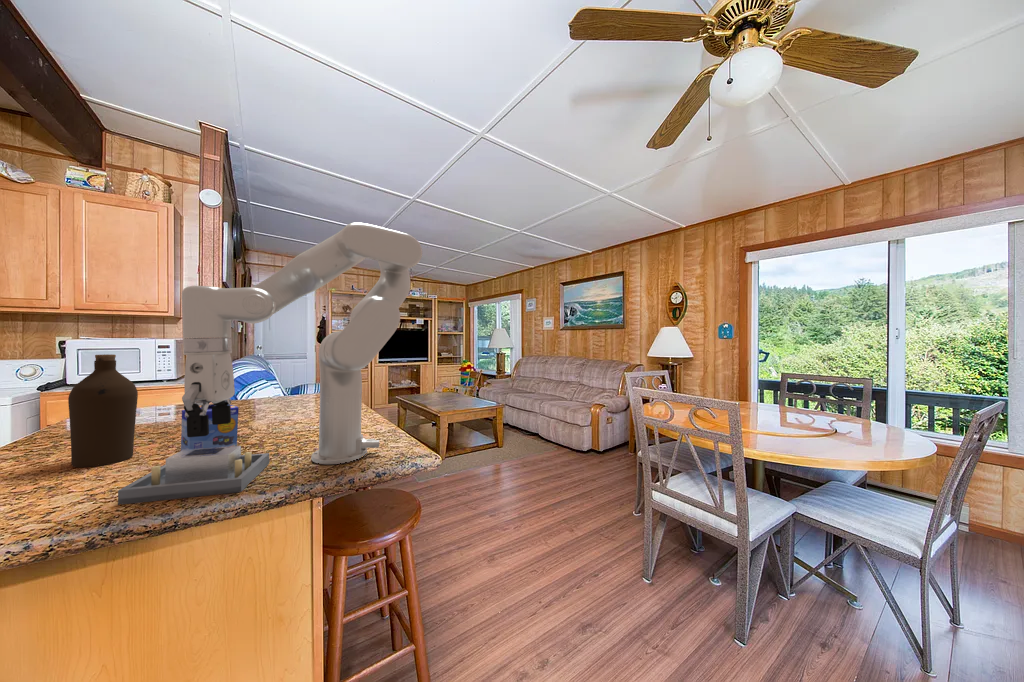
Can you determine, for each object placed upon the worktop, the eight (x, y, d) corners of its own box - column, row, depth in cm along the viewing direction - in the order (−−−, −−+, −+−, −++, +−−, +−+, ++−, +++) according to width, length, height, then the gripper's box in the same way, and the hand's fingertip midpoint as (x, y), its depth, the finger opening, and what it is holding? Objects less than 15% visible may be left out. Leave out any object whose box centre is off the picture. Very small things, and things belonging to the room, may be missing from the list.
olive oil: (147, 455, 86) (149, 354, 86) (86, 471, 75) (88, 356, 75) (118, 451, 88) (120, 353, 88) (54, 465, 78) (56, 354, 78)
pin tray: (269, 463, 82) (269, 444, 82) (241, 491, 67) (241, 468, 67) (172, 471, 76) (172, 451, 76) (117, 504, 61) (118, 479, 61)
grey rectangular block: (240, 468, 76) (240, 445, 76) (227, 479, 70) (228, 453, 70) (183, 473, 73) (183, 449, 73) (165, 484, 67) (165, 458, 67)
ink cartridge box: (188, 465, 80) (190, 402, 80) (178, 461, 82) (179, 400, 82) (239, 453, 88) (240, 396, 88) (228, 450, 91) (229, 395, 91)
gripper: (209, 348, 64) (212, 439, 65) (246, 345, 81) (248, 418, 81) (158, 349, 62) (161, 444, 62) (207, 346, 78) (209, 421, 79)
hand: (210, 429), depth 72 cm, fingers open, 9 cm apart
